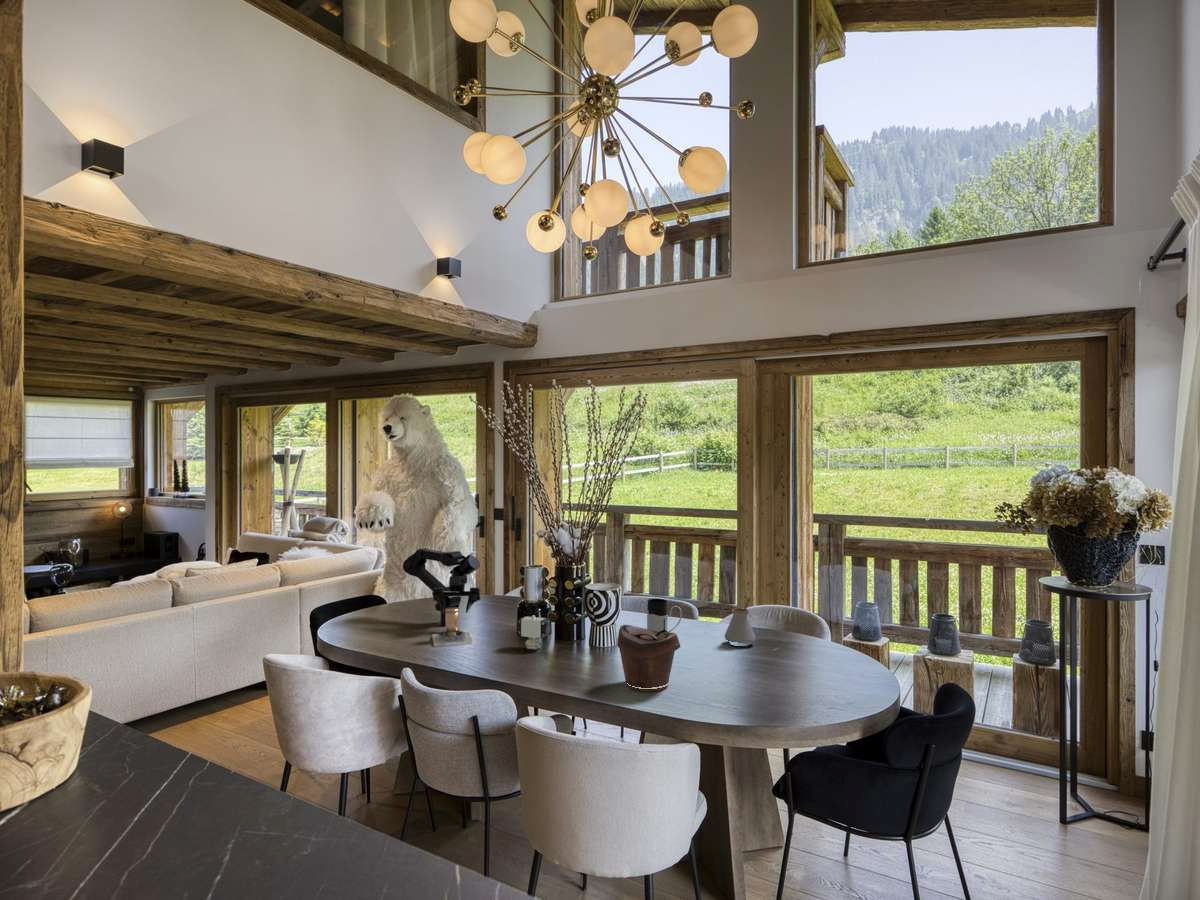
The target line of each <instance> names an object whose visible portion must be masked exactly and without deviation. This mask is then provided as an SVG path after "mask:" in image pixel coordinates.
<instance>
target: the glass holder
mask: <svg viewBox="0 0 1200 900" xmlns="http://www.w3.org/2000/svg"><path fill="white" fill-rule="evenodd" d="M674 608H678V609H679V611H680V617H679V620H678V622H677V624H676V625H675V626H674V627H672V629H670V630H668V617H671V616H672V613H673V612H672V611H673V609H674ZM682 611H683V610H682V608H681V607H679V605H674V606H671V608H670V612H669V615H668V600H667V599H663V598H650V599H649V598H648V599H647V607H646V613H647V614H646V629H648V630H652V631H657V632H660V631H662V630H666V631H668V632H669V633H672V631H673V630H674V629H676V628H677V627H678V626H679V624H680V623H681V619H682V615H683V614H682Z"/></svg>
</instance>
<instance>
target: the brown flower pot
mask: <svg viewBox="0 0 1200 900" xmlns="http://www.w3.org/2000/svg"><path fill="white" fill-rule="evenodd" d="M617 635H618V636H617V647H618V649H619V652H620V658H621V664H622V669H623V675H624V679H625V685H626V686H627V688H629V689H631V690H633V691H637V692H640V693H641V692H642V693H651V692H652V693H653V692H660V691H663V690H666V689H667V688H668V687H669V682H670V676H671V673H672V672H671V671H672V666H673V662H674V656H675V653H676V652H675V651H677V650H679V649H680V648H681V643H680V640H679V637H678V635H677V634H676V633H675V632H669V630H667V631H666V630H662V631H660V632H657V631H652V630H648V629H647V628H645V627H644V628H643V627H638V626H634V625H632V624H631V625H630V624H622V625H621V626H620V628H619V629H618V633H617ZM627 683H628V684H629V685H631V686H629V685H628V684H627ZM667 683H668V685H667V686H665V687H662V688H657V689H639V688H635V687H641V688H652V687H659V686H663V685H666V684H667ZM632 686H635V687H632Z"/></svg>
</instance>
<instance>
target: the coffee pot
mask: <svg viewBox="0 0 1200 900" xmlns="http://www.w3.org/2000/svg"><path fill="white" fill-rule="evenodd" d="M750 600H751V601H750ZM751 602H753V600H752V598H751V597H748V598H747V599H746V602H745V603H744V606H743V608H740V607H739V608H738V607H737V608H732V609H731V612H732V617H731V619H730V622H729V625H728V627H727V628H726V631H725V634H724V639H725V640H728V641H731V642H738V643H749V642H753V641H754V642H755V641H756V638H757V637H756V634H755V633H754V630H753V627H752V625H751V623H750V620H749V618H748V615H749V613H750V610H749V609H748V606H749V603H751ZM754 642H753V643H754Z"/></svg>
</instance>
